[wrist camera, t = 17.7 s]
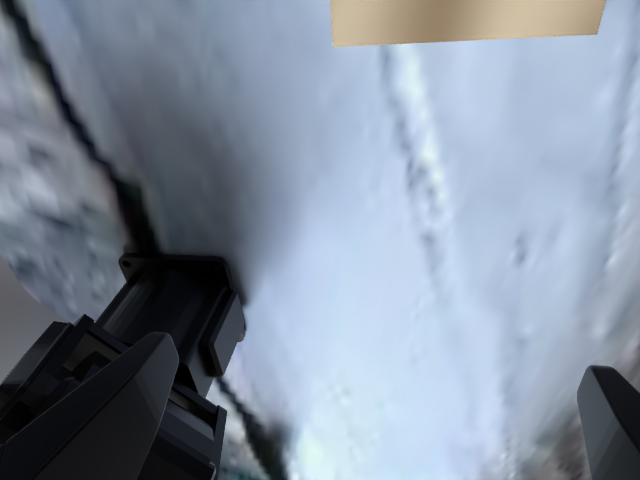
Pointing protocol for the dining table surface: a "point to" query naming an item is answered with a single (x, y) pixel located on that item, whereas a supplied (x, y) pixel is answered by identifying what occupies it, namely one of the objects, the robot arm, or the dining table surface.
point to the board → (459, 20)
